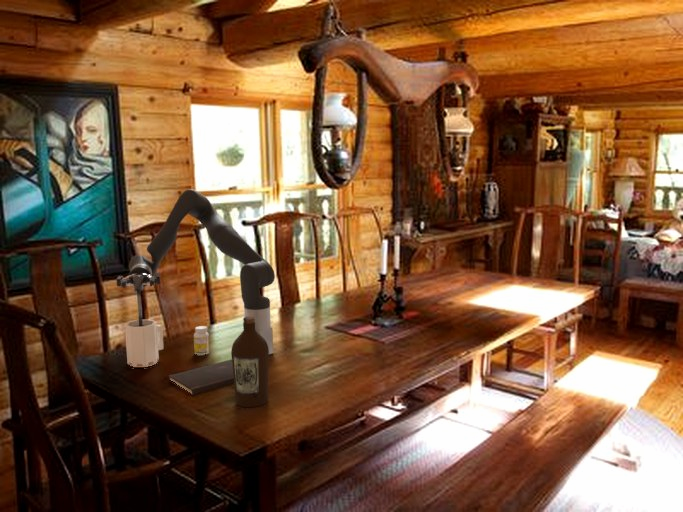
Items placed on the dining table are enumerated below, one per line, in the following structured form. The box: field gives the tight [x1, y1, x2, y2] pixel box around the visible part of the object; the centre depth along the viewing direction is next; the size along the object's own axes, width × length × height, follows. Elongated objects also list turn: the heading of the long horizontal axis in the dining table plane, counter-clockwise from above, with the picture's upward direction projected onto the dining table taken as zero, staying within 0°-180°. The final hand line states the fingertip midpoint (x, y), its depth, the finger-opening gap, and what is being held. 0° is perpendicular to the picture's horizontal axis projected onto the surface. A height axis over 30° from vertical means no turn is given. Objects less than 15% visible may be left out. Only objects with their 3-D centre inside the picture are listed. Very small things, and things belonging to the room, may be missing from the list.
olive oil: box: [230, 316, 270, 408], centre depth 171 cm, size 11×11×25 cm
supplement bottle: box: [193, 325, 210, 356], centre depth 215 cm, size 5×5×10 cm
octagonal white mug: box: [124, 318, 164, 367], centre depth 205 cm, size 10×12×14 cm
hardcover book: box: [168, 358, 234, 396], centre depth 191 cm, size 16×23×2 cm
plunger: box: [133, 275, 147, 327], centre depth 201 cm, size 7×7×19 cm
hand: (137, 284), depth 199 cm, fingers open, 8 cm apart
